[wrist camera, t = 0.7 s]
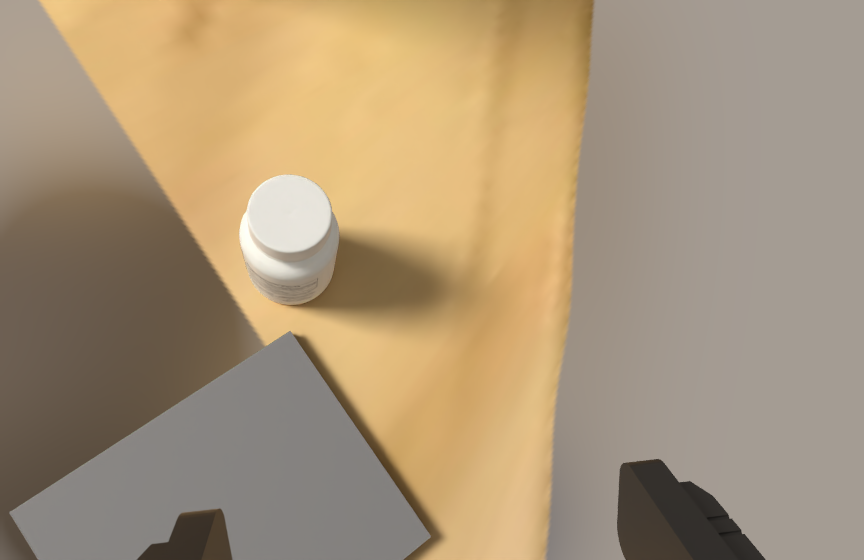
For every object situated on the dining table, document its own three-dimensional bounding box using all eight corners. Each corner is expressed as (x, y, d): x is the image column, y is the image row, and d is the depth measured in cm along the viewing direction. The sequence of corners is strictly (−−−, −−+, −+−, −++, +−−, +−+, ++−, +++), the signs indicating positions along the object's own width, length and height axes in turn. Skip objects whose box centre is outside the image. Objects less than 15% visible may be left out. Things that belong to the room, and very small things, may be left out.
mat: (17, 510, 28) (9, 512, 28) (290, 333, 33) (290, 330, 32) (164, 751, 27) (160, 759, 27) (428, 534, 32) (431, 536, 31)
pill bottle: (280, 209, 34) (276, 143, 27) (349, 255, 34) (364, 202, 27) (229, 275, 33) (210, 223, 26) (301, 322, 33) (303, 285, 26)
